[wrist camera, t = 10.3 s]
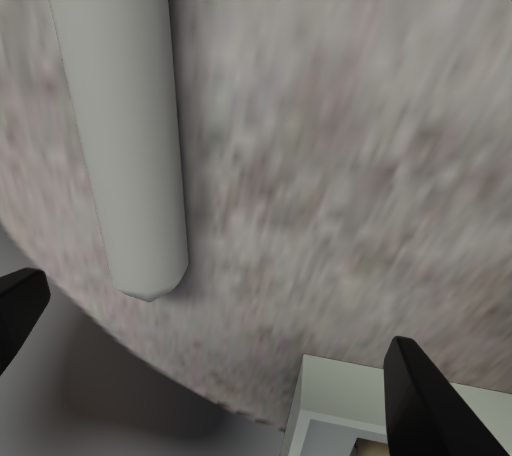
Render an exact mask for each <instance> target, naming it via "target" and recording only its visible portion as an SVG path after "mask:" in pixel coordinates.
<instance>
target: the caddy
mask: <svg viewBox="0 0 512 456" xmlns="http://www.w3.org/2000/svg"><path fill="white" fill-rule="evenodd" d="M449 383H450V384H451V385H452V386H453V387H454V389H455V390H456V391H457V392H458V393H459V395H460V396H461V397H462V398H463V399H464V401H465V402H466V403H467V404H468V405H469V407H470V408H471V409H472V410H473V411H474V413H475V414H476V415H477V416H478V417H479V419H480V420H481V421H482V422H483V423H484V425H485V426H486V427H487V428H488V429H489V431H490V432H491V433H492V434H493V436H494V437H495V438H496V439H497V440H498V442H499V443H500V444H501V445H502V446H503V448H504V449H505V450H506V451H507V452H508V454H509V455H510V456H512V394H508V393H503V392H497V391H492V390H487V389H482V388H477V387H472V386H466V385H461V384H456V383H451V382H449ZM357 437H358V438H363V439H367V440H372V441H377V442H381V443H386V444H388V442H387V434H386V420H385V395H384V370H383V369H379V368H373V367H368V366H363V365H358V364H353V363H348V362H343V361H337V360H332V359H327V358H322V357H317V356H312V355H306V354H304V355H303V359H302V363H301V367H300V372H299V376H298V380H297V384H296V388H295V393H294V397H293V401H292V405H291V410H290V414H289V418H288V422H287V426H286V431H285V435H284V440H283V443H282V448H281V452H280V456H358V448H357V447H353V446H354V444H355V442H356V439H357Z"/></svg>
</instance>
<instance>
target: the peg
mask: <svg viewBox="0 0 512 456" xmlns="http://www.w3.org/2000/svg"><path fill="white" fill-rule="evenodd" d="M357 447H358V456H390V455H389V448H388V444H386V443H381V442H377V441H372V440H367V439H363V438H358V437H357Z"/></svg>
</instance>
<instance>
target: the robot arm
mask: <svg viewBox="0 0 512 456" xmlns="http://www.w3.org/2000/svg"><path fill="white" fill-rule="evenodd" d="M50 296H51V293H50V290H49V286H48V282H47V278H46V274H45V272H44V271H43V270H41V269H35V268H28V267H27V268H23V269H21V270H18V271H16V272H13V273H10V274H8V275H5V276H2V277H0V376H1V375H2V373H3V372H4V371H5V369H6V368H7V367H8V365H9V364H10V363H11V361H12V360H13V358H14V357H15V356H16V354H17V353H18V351H19V350H20V348H21V347H22V345H23V344H24V342H25V340H26V339H27V337H28V335H29V334H30V332H31V331H32V329H33V327H34V326H35V324H36V322H37V321H38V319H39V317H40V316H41V314H42V313H43V311H44V309H45V308H46V306H47V304H48V302H49V300H50ZM383 370H384V395H385V420H386V434H387V442H388V448H389V455H390V456H510V455H509V454H508V452H507V451H506V450H505V449H504V448H503V446H502V445H501V444H500V443H499V442H498V440H497V439H496V438H495V437H494V436H493V434H492V433H491V432H490V431H489V429H488V428H487V427H486V426H485V425H484V423H483V422H482V421H481V420H480V419H479V417H478V416H477V415H476V414H475V413H474V411H473V410H472V409H471V408H470V407H469V405H468V404H467V403H466V402H465V401H464V399H463V398H462V397H461V396H460V395H459V393H458V392H457V391H456V390H455V389H454V387H453V386H452V385H451V384H450V383H449V381H448V380H447V379H446V378H445V377H444V375H443V374H442V373H441V372H440V371H439V369H438V368H437V367H436V366H435V364H434V363H433V362H432V361H431V360H430V358H429V357H428V356H427V355H426V354H425V352H424V351H423V350H422V349H421V348H420V346H419V345H418V344H417V343H416V342H415V341H414V340H413V339H411V338H407V337H402V336H395V337H394V338H393V339H392V342H391V344H390V346H389V349H388V351H387V354H386V356H385V359H384V366H383Z"/></svg>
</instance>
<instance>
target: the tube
mask: <svg viewBox="0 0 512 456" xmlns="http://www.w3.org/2000/svg"><path fill="white" fill-rule="evenodd" d="M49 3H50V7H51V12H52V16H53V21H54V25H55V30H56V34H57V39H58V43H59V48H60V52H61V56H62V61H63V65H64V70H65V74H66V79H67V83H68V88H69V92H70V97H71V101H72V106H73V110H74V115H75V119H76V124H77V128H78V133H79V137H80V142H81V146H82V150H83V155H84V159H85V164H86V168H87V173H88V177H89V182H90V186H91V191H92V195H93V200H94V204H95V209H96V213H97V218H98V222H99V227H100V231H101V235H102V240H103V244H104V249H105V253H106V258H107V262H108V267H109V271H110V274H111V278H112V281H113V285H114V288H115V289H117V290H119V291H120V292H122V293H124V294H126V295H129V296H132V297H135V298H138V299H141V300H144V301H147V302H152V301H153V300H155V299H157V298H159V297H161V296H163V295H165V294H167V293H169V292H171V291H173V289H174V288H175V287H176V286H177V285H178V283H179V282H180V281H181V279H182V277H183V275H184V273H185V271H186V269H187V267H188V265H189V261H188V249H187V236H186V223H185V210H184V197H183V184H182V171H181V158H180V145H179V132H178V120H177V107H176V94H175V81H174V68H173V55H172V42H171V29H170V16H169V3H168V0H49Z"/></svg>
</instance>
